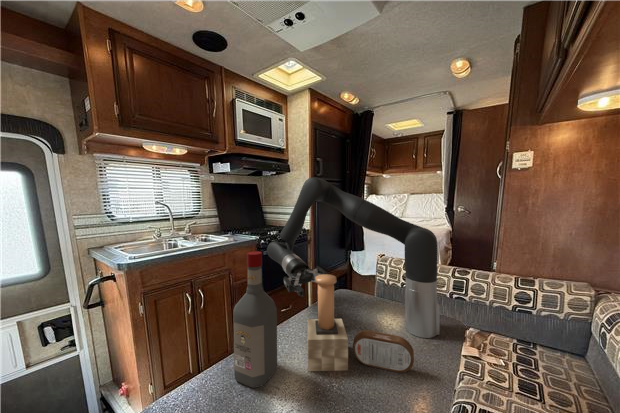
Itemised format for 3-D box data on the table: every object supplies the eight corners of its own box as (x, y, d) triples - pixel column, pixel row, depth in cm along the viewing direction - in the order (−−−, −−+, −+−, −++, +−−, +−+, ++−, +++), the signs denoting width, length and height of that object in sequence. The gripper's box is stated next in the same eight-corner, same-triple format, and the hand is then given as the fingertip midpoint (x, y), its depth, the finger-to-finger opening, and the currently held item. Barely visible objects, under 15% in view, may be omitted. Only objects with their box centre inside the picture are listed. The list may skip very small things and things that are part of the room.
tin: (413, 369, 59) (413, 336, 59) (414, 378, 56) (414, 344, 56) (353, 356, 64) (353, 326, 64) (351, 364, 61) (351, 332, 61)
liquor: (259, 392, 52) (257, 259, 51) (228, 379, 56) (226, 255, 55) (281, 366, 61) (280, 250, 60) (253, 356, 64) (251, 247, 64)
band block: (341, 345, 69) (341, 316, 69) (348, 370, 59) (347, 335, 59) (307, 346, 69) (307, 316, 68) (308, 371, 59) (307, 336, 58)
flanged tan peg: (335, 347, 67) (334, 274, 66) (338, 360, 61) (337, 281, 60) (315, 347, 67) (315, 274, 66) (316, 361, 61) (316, 281, 60)
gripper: (275, 263, 83) (294, 286, 69) (311, 253, 89) (334, 272, 75) (277, 282, 85) (296, 308, 71) (312, 270, 91) (335, 292, 77)
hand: (315, 289), depth 73 cm, fingers open, 8 cm apart
